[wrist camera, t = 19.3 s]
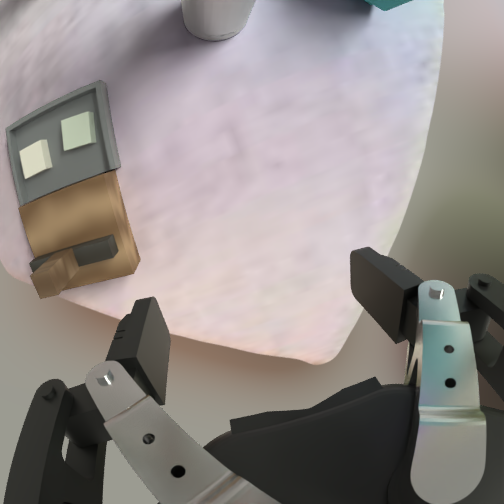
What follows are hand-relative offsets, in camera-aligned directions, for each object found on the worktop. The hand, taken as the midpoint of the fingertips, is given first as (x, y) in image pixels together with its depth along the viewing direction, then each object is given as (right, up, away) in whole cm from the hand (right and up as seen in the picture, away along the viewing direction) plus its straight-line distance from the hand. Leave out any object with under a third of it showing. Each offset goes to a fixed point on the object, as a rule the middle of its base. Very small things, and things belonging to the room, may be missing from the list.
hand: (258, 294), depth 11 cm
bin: (-28, +18, +21) cm, 39 cm away
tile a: (-32, +15, +18) cm, 40 cm away
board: (-26, +5, +26) cm, 37 cm away
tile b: (-24, +18, +19) cm, 35 cm away
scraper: (-25, +1, +22) cm, 34 cm away
